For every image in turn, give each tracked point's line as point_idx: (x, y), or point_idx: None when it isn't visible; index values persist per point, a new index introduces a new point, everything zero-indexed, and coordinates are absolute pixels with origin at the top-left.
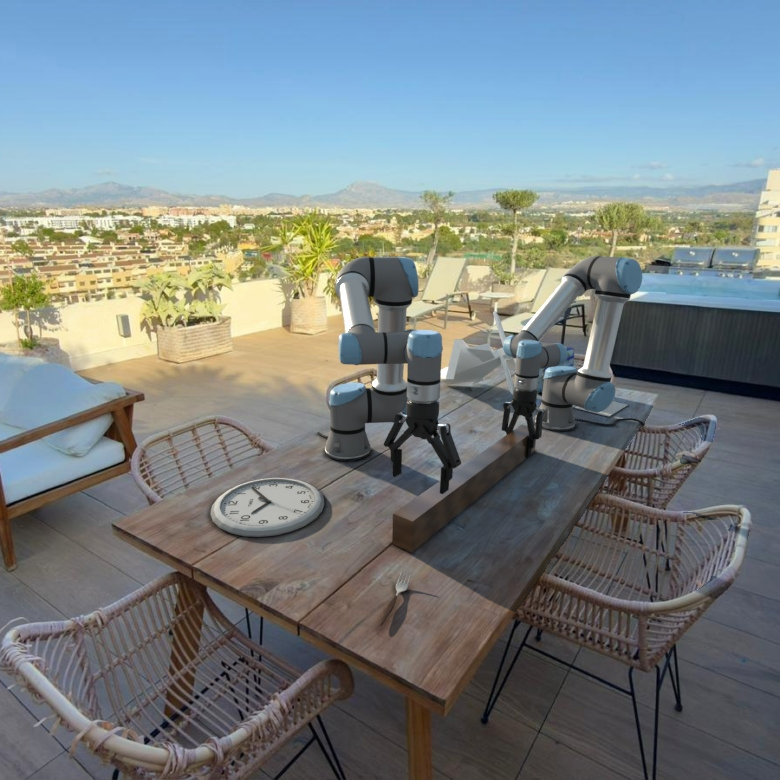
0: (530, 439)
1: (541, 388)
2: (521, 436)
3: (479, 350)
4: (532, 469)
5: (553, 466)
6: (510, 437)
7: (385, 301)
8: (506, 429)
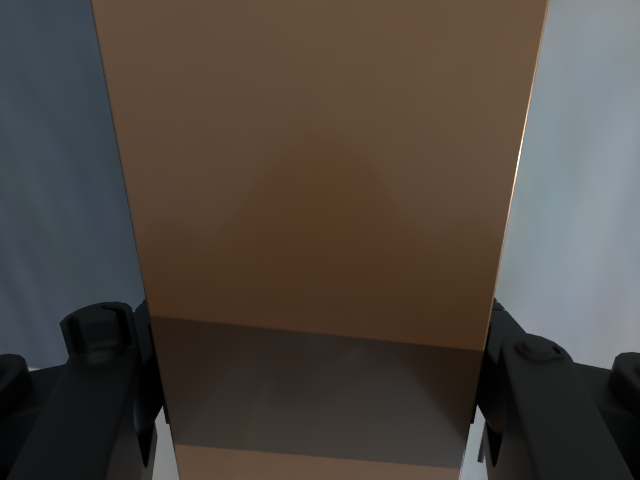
0: (105, 313)
1: None
2: (221, 262)
3: None
4: (81, 44)
5: (3, 229)
6: (391, 38)
7: None
8: (593, 395)
